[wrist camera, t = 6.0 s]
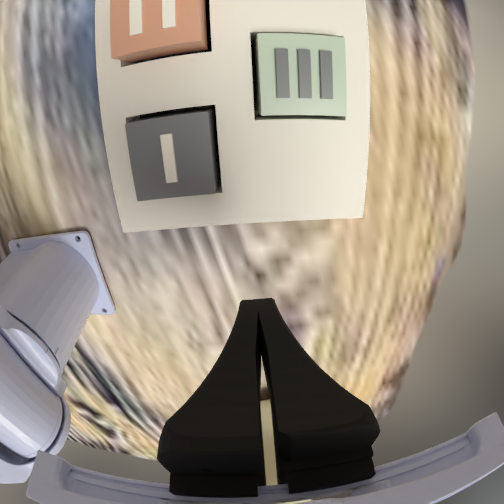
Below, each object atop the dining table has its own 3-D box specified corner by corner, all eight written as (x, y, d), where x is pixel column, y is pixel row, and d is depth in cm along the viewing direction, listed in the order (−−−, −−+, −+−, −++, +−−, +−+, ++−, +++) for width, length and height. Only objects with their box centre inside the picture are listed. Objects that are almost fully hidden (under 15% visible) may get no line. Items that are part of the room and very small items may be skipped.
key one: (151, 184, 18) (136, 202, 15) (142, 118, 16) (123, 124, 13) (218, 178, 18) (215, 195, 15) (213, 108, 16) (207, 111, 13)
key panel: (134, 216, 20) (123, 233, 17) (112, -15, 11) (96, -25, 9) (349, 203, 20) (362, 217, 18) (345, -30, 11) (359, -43, 9)
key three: (257, 112, 16) (261, 115, 13) (254, 43, 14) (257, 32, 11) (329, 112, 16) (347, 116, 13) (327, 45, 14) (346, 37, 11)
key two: (131, 62, 13) (109, 57, 10) (129, -1, 11) (109, -16, 8) (207, 49, 13) (200, 39, 10) (204, -16, 11) (197, -36, 8)
